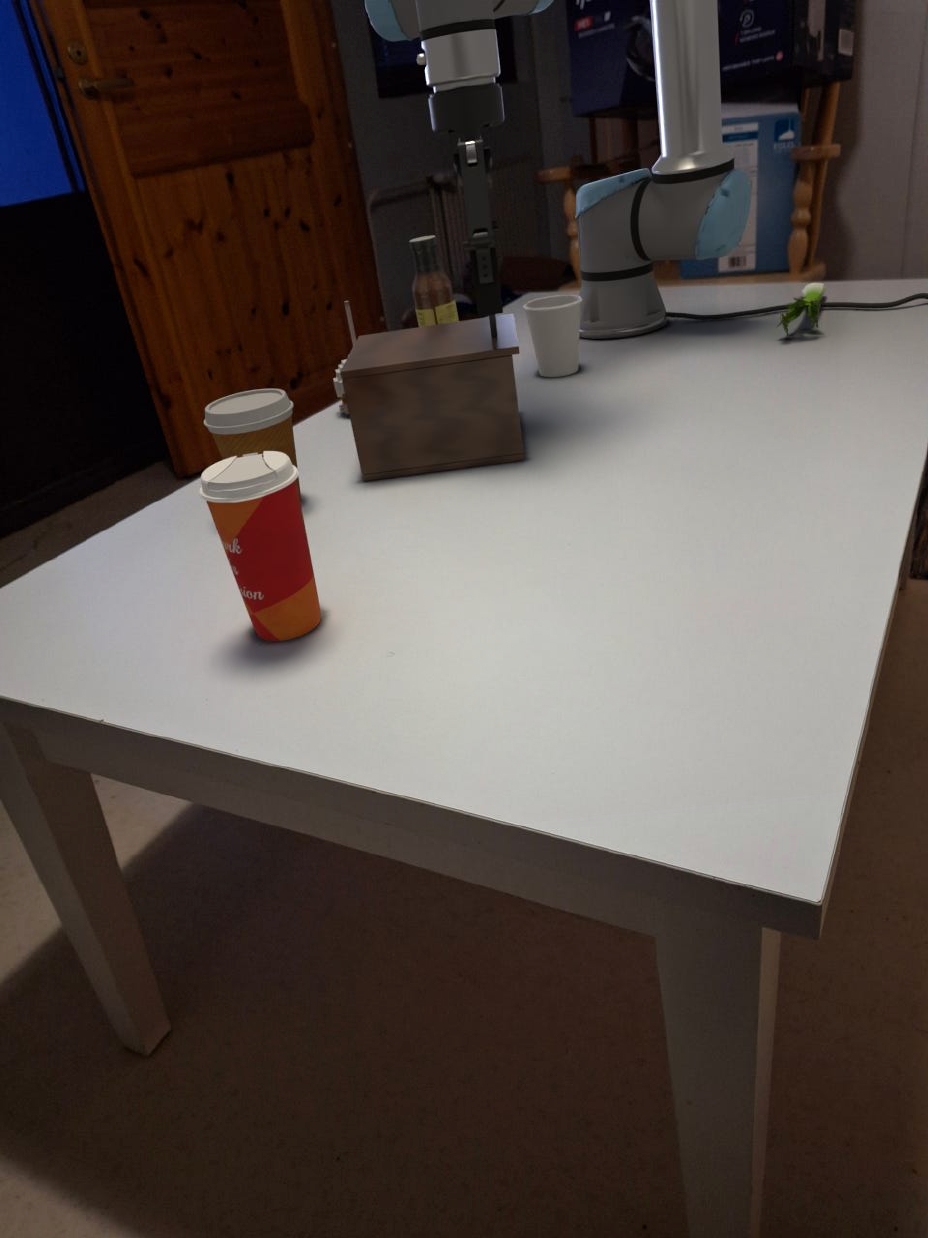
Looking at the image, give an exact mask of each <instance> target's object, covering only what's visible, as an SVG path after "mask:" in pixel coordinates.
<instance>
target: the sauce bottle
mask: <svg viewBox="0 0 928 1238" xmlns="http://www.w3.org/2000/svg"><path fill="white" fill-rule="evenodd" d="M408 243H409V249H410V251H411V253H412V257H413V263H414V270H415V275H414V279H413V282H412V285H411V292H412V297H413V302H414V309H415V310H414V311H415V315H416V319H417V324H418V327H424V326H431V325H438V324H445V323H452V322H459V321H460V319H459V314H458V313H459V312H458V309H457V303H456V298H455V295H454V293H453V285H452V281H451V280H450V278H449V277H448V275H447V273H446V272H445V271H444V270H443V268H442V266H441V262H440V257H439V253H438V252H439V251H438V244H439V243H438V240H437V236H436V235H434V234H433V235H425V236H420V237H416V238H412V239H410V240H409V242H408Z"/></svg>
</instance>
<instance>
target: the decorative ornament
mask: <svg viewBox="0 0 928 1238" xmlns="http://www.w3.org/2000/svg"><path fill="white" fill-rule="evenodd" d="M350 305H351V304H350V301H349V300H345V301H344V307H345V313H346V317H347V323H348V329H349V333H350V337H351V341H352V342H351V343H352V348H353V347H354V345H355V343H356V341H357V337H356V331H355V326H354V321H353V315H352V311H351V306H350ZM348 356H349V354H348V355H347V357H348ZM346 360H347V358H346V359H341V362H340V364H337V365H338V368H337V369H335V370H334V371H335V375H336V377H334V378H332V379H333V386H334V390H335V394H336V396H337V398H340V399H341V404H338V407H339V411H340V413H342V414H343V413H345V414H346V415H349V411H348V407H347V402H346V397H345V392H344V387H343V383H342V378H341V374H340V371H341V369H342V368H343V366H344V364H345V362H346Z"/></svg>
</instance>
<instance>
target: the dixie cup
mask: <svg viewBox="0 0 928 1238" xmlns="http://www.w3.org/2000/svg"><path fill="white" fill-rule="evenodd" d="M581 302H582V298H581V297H580V296H579V295H577V294H556V295H548V296H543V297H539V298H535V299H532V300H529V301H527V302H526V303H524V305H523V306H522V307H523V308H522V309H523V310H524V311H525V314H526V320H527V323H528V328H529V334H530V337H531V341H532V345H533V346H532V347H533V350H534V354H535V359H536V363H537V368H538V372H539V375H540V376H542V377H545V378H559V377H565V376H569V375H572V374H575V373H576V372H578V371H579V360H580V359H579V358H580V336H579V333H580V306H581Z"/></svg>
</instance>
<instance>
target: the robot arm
mask: <svg viewBox="0 0 928 1238" xmlns="http://www.w3.org/2000/svg"><path fill="white" fill-rule="evenodd" d="M553 2H554V0H364V6H365V7H364V8H365V10H366V13H367V15H368V16H367V17H368V18H369V22H370V25H371V26H372V28H373V29H374V31H375V33H377V34H378V35H379V36H380V37H381V38H382V39H383V40H386V41H388V42H399V41H400V42H401V41H409V42H410V41H411V42H412V41H414V40H415V39H416V38H417V39H418V38H420V42H421V49H422V50H423V51H424V52H422V53H419V54H417V57H416V63H417V65H419V66H425V69H424V73H425V81H426V86H428V88H433V92H434V93H431V94H429V98H427V99H428V107H429V115H430V121H431V129H432V132H433V133H434V134H436V135H446V134H452V133H457V134H458V135H457V136H458V142H457V145H456V151H455V152H452V160H453V168H454V171H455V173H456V174H457V184H458V189H459V193H460V194H461V195H463V199H464V208H465V216H466V217H465V218H466V224H467V225H466V226H467V235H468V236H467V241H463V242H462V251H463V253H468V252H469V259H470V265H471V273H472V280H473V281H472V282H473V287H474V288H473V289H474V299H475V305H476V312H477V317H485V316H489V315H492V314H495V315H498V314H504V307H503V299H502V292H501V291H502V290H501V289H502V288H501V282H500V281H501V280H500V274H499V264H498V255H497V247H496V235H495V231H499V229H500V228H499V221H498V220H496V219H495V220H493V215H492V213H491V206H490V197H489V196H490V195H489V192H490V191H491V190H492V189H493V180H492V173H491V168H492V167H493V159H492V151H491V147H490V146H486V147H485V142H484V139H483V137H482V136H481V129H482V128H490V127H495V126H500V125H502V124H503V123H504V122H505V112H504V111H505V110H504V101H503V100H504V99H503V90H502V86H500V83H496V78H497V77H499V76H500V74H501V65H500V57H499V56H500V55H499V47H498V37H497V30H496V25H495V20H496V19H500V18H504V17H510V16H518V17H525V16H527V15H529V16H530V15H532V14H536V13H537V14H538V13H539V12H542V11H544V10H546V9H547V8H548V7H549V6H550V5H551V4H553ZM649 4H650V17H651V18H650V19H651V32H652V46H653V59H654V61H653V63H654V72H655V73H654V74H655V75H654V76H655V87H656V101H657V116H658V117H657V118H658V129H659V141H660V143H659V144H660V145H659V146H660V155H659V157H658V159H657V161H656V162H655V163H654V165H653V166H652V168H651V170H650V169H649V168H648V167H645V168H641V169H637V170H633V171H629V172H625V173H622V174H621V173H620V174H618V175H613V176H611V177H607V178H603V179H599V180H596V181H592V182H589V183H586V184H583V185H582V186H580V187H579V188H578V190H577V191H576V195H575V216H574V219H575V220H576V231H577V241H578V242H577V243H578V244H577V245H578V254H579V267H580V280H581V284H580V285H581V286H580V290H579V293H578V294H579V295H578V296H580V297H581V298H582V302H581V306H580V333H579V338H584V339H591V340H605V339H607V340H608V339H620V338H627V337H628V338H629V337H635V336H640V335H644V334H647V333H651V332H654V331H656V330H659V329H662V328H663V327H664V326H665V325H667V322H668V318H674V319H675V318H676V319H687V320H695V321H715V320H716V321H717V320H727V319H733V318H741V317H748V316H755V315H762V314H766V313H772V312H779V311H789V310H790V309H792V308H790V309H789V310H788V309H787V307H788V306H786V305H787V304H779V305H773V306H769V307H767V306H766V307H762V308H755V309H749V310H742V311H734V312H728V313H718V314H717V313H716V314H695V313H686V312H674V311H667V309H666V305H665V302H664V300H663V297H662V294H661V292H660V289H659V285H658V283H657V280H656V278H655V274H654V273H655V271H654V261H681V260H683V261H684V260H697V261H705V260H706V259H716V258H723V257H726V256H728V255H729V254H731V253H732V252H733V251H734V250H735V249H736V247H738V244H739V242H740V241H741V239H742V237H743V234H744V232H745V229H746V228H747V224H748V220H749V215H750V209H751V203H752V184H751V181H750V176H749V175H748V173H747V172H746V171H745V170H742V169H741V168H735V153H734V152H733V151H732V150H730V149H729V148H728V147H727V146H726V145H725V143H724V141H723V125H722V124H723V121H722V94H721V70H720V68H721V66H720V43H719V41H720V38H719V13H718V0H649ZM921 299H923V300H928V292H918V293H915V294H911V295H909V296H906V297H904V298H901V299H898V300H894V301H889V302H851V301H832V302H831V301H829V302H827V301H826V302H825V301H823V302H821V301H819V302H818V304H819V303H820V307H819V308H820V309H823V308H827V309H829V308H830V309H833V308H836V309H837V308H845V309H846V308H849V309H889V308H895V307H898V306H899V307H900V306H902V305H905V304H907V303H910V302H912V301H917V300H921ZM788 308H789V307H788ZM805 309H808V307H805Z"/></svg>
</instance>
